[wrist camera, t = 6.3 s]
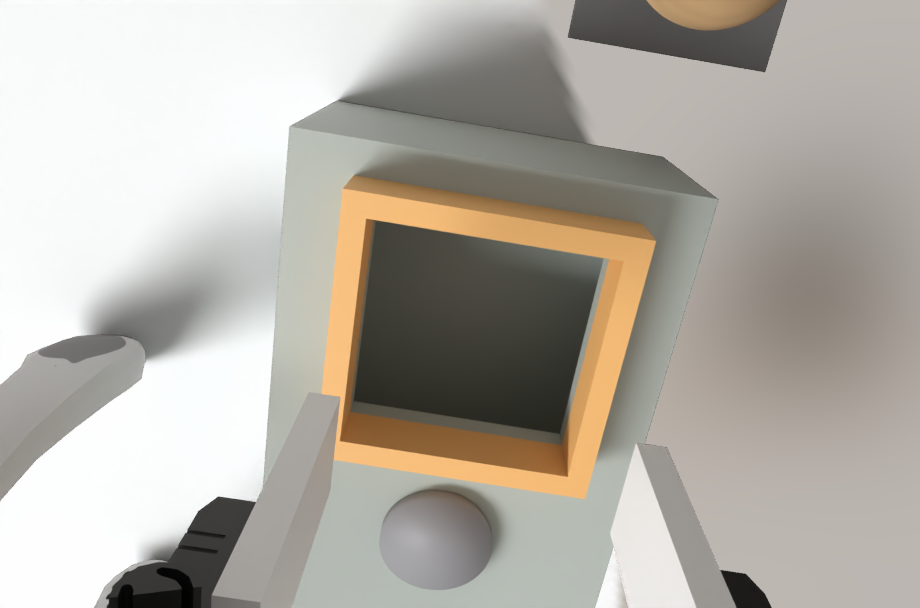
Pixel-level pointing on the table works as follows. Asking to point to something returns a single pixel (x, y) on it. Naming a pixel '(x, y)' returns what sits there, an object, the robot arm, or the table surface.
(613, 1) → the mat
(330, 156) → the grey boxy piece
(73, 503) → the table surface
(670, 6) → the bead
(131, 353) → the headphones
